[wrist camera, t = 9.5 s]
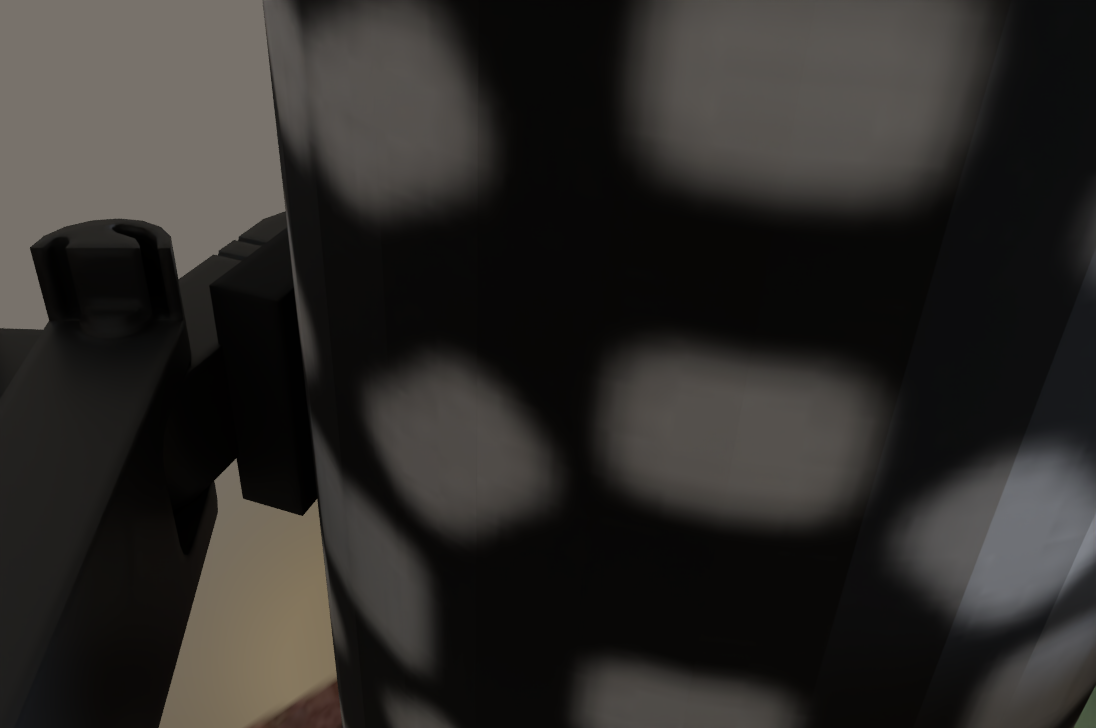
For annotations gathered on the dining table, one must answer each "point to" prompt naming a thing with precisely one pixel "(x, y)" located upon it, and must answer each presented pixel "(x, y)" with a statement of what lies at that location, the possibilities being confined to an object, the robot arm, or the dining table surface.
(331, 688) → the dining table surface
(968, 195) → the white-spotted black cylinder
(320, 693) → the dining table surface
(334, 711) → the dining table surface
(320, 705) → the dining table surface
